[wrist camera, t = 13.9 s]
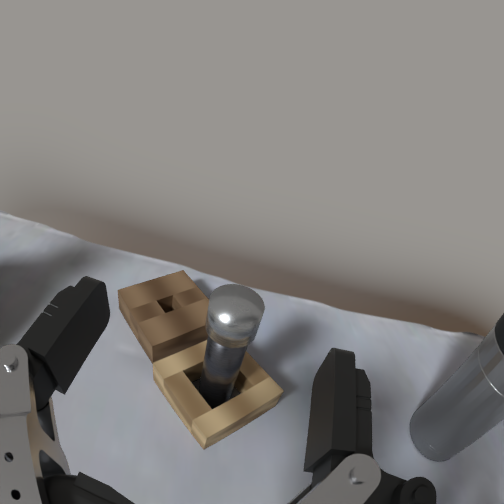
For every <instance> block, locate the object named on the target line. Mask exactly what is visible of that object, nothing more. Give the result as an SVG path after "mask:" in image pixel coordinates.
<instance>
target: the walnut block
mask: <svg viewBox="0 0 504 504" xmlns="http://www.w3.org/2000/svg"><path fill="white" fill-rule="evenodd" d="M118 299H119V309H120V311H121V313H122V314H123V316H124V318H125V320H126V321H127V323H128V325H129V326H130V328H131V330H132V331H133V333H134V335H135V336H136V338H137V340H138V341H139V343H140V345H141V346H142V348H143V349H144V351H145V353H146V354H147V356H148V357H149V359H150V360H151V362H152V364H153V363H154V362H156V361H159V360H161V359H163V358H166V357H168V356H171V355H173V354H175V353H178V352H180V351H182V350H185V349H187V348H189V347H192V346H194V345H196V344H199V343H201V342H203V341H206V340H207V339H208V334H207V332H206V328H205V323H206V317H207V311H208V305H209V299H208V298H207V297H206V296H205V295H204V293H203V292H202V291H201V290H200V289H199V288H198V287H197V285H196V284H195V283H194V282H193V281H192V280H191V279H190V277H189V276H188V275H187V274H186V273H185V272H184V270H182V271H179V272H176V273H172V274H169V275H166V276H162V277H159V278H156V279H153V280H149V281H146V282H143V283H139V284H136V285H133V286H130V287H126V288H123V289H120V290H118Z"/></svg>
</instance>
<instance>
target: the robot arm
mask: <svg viewBox="0 0 504 504" xmlns="http://www.w3.org/2000/svg"><path fill="white" fill-rule="evenodd" d="M109 318H110V309H109V303H108V297H107V290H106V285H105V283H104V282H102V281H99V280H96V279H93V278H90V277H88V276H85V277H83V278H82V279H81V280H80V281H79V282H78V283H77V285H76V286H75V287H73V286H69V287H67V288H65V289H64V290H62V291H60V292H59V293H58V294H57V295H56V296H55V297H54V299H53V300H52V301H51V302H50V305H48V306H47V307H46V308H45V309H44V312H43V313H41V314H40V316H39V317H38V318H37V319H36V321H35V322H34V323H33V325H32V326H31V327H30V328H29V330H28V331H27V332H26V334H25V335H24V336H23V337H22V339H21V340H20V341H19V342H18V343H17V344H16V345H15V344H9V345H6V346H3V347H2V348H0V504H134V503H133V502H131V501H130V500H128V499H127V498H126V497H124V496H123V495H121V494H120V493H118V492H117V491H116V490H114V489H113V488H112V487H110V486H109V485H106V484H104V483H102V482H100V481H98V480H95V479H93V478H91V477H89V476H87V475H85V474H83V473H81V472H79V473H78V476H76V475H71V473H70V469H69V466H68V462H67V459H66V456H65V454H64V452H63V450H62V448H61V445H60V442H59V437H58V432H57V426H56V421H55V415H54V408H53V401H52V397H51V396H52V394H53V392H54V391H55V390H57V391H59V392H61V393H63V394H64V395H65V393H66V391H67V390H68V388H69V386H70V385H71V383H72V381H73V380H74V378H75V376H76V375H77V373H78V371H79V370H80V368H81V366H82V365H83V363H84V361H85V360H86V358H87V357H88V355H89V353H90V352H91V350H92V349H93V347H94V345H95V344H96V342H97V341H98V339H99V337H100V336H101V334H102V333H103V331H104V330H105V328H106V326H107V324H108V322H109ZM370 398H371V388H370V382H369V380H368V377H367V375H366V373H365V371H364V370H361V369H356V368H355V354H354V352H351V351H346V350H341V349H337V348H331V350H330V351H329V353H328V355H327V356H326V358H325V360H324V361H323V363H322V365H321V366H320V368H319V369H318V371H317V373H316V375H315V378H314V382H313V387H312V398H311V408H310V419H309V429H308V438H307V447H306V455H305V463H304V471H305V472H312V473H313V477H312V482H311V483H310V484H309V485H308V486H307V487H305V488H304V489H303V490H302V491H301V492H300V493H299V494H298V495H297V496H295V497H294V498H293V499H292V500H291V501H290V502H289V503H287V504H436V490H435V487H434V485H433V484H432V483H431V482H430V481H429V480H428V479H426V478H423V477H415V478H412V479H410V480H408V481H406V480H404V479H401V478H398V477H396V476H393V475H391V474H388V473H386V472H384V471H383V470H381V469H380V467H379V465H378V464H377V462H376V461H375V460H374V458H373V454H372V412H371V400H370ZM503 419H504V314H503V315H502V316H501V318H500V319H499V320H498V322H497V323H496V324H495V326H494V327H493V328H492V330H491V331H490V332H489V333H488V335H487V336H486V337H485V338H484V340H483V341H482V342H481V343H480V345H479V346H478V347H477V348H476V349H475V351H474V352H473V353H472V354H471V355H470V356H469V358H468V359H467V360H466V361H465V362H464V363H463V364H462V365H461V367H460V368H459V369H458V370H457V371H456V372H455V373H454V374H453V375H452V376H451V377H450V378H449V379H448V380H447V381H446V383H445V384H444V385H443V386H442V387H441V388H440V389H439V390H438V391H437V392H436V393H435V394H433V395H432V396H431V397H430V398H429V399H428V400H427V401H426V402H425V403H424V404H423V405H422V406H421V407H420V408H419V409H418V410H417V411H416V412H415V413H414V414H413V416H412V419H411V423H410V433H411V437H412V440H413V442H414V445H415V446H416V448H417V449H418V450H419V451H420V453H421V454H422V455H424V456H425V457H427V458H429V459H431V460H434V461H445V460H448V459H450V458H451V457H453V456H454V455H456V454H457V453H459V452H460V451H462V450H463V449H465V448H466V447H468V446H469V445H471V444H472V443H473V442H475V441H476V440H477V439H479V438H480V437H481V436H483V435H484V434H485V433H487V432H488V431H489V430H491V429H492V428H493V427H494V426H496V425H497V424H498V423H499V422H500V421H502V420H503Z"/></svg>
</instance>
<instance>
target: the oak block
mask: <svg viewBox="0 0 504 504" xmlns="http://www.w3.org/2000/svg"><path fill="white" fill-rule="evenodd" d="M206 345H207V340H206V341H203V342H201V343H199V344H196V345H194V346H192V347H189V348H187V349H185V350H182V351H180V352H178V353H175V354H173V355H171V356H168V357H166V358H163V359H161V360H159V361H156V362H154V363H153V377H154V381H155V383H156V384H157V386H158V387H159V389H160V390H161V392H162V393H163V395H164V396H165V398H166V399H167V401H168V402H169V403H170V405H171V406H172V408H173V409H174V411H175V412H176V413H177V415H178V416H179V418H180V419H181V420H182V422H183V423H184V424H185V426H186V427H187V428H188V430H189V431H190V433H191V434H192V435H193V436H194V438H195V439H196V440H197V442H198V443H199V444H200V446H201V447H202V448H203V449H206V448H207V447H209V446H211V445H213V444H215V443H216V442H218V441H220V440H221V439H223V438H225V437H227V436H228V435H230V434H232V433H233V432H235V431H237V430H238V429H240V428H242V427H243V426H245V425H246V424H248V423H250V422H251V421H253V420H254V419H256V418H257V417H259V416H261V415H262V414H264V413H265V412H267V411H268V410H270V409H271V408H273V407H274V406H275V405H276V404H277V402H278V400H279V399H280V397H281V395H282V393H283V392H284V391H283V390H282V389H281V388H280V387H279V385H278V384H277V383H276V382H275V381H274V380H273V379H272V378H271V377H270V376H269V375H268V374H267V373H266V372H265V371H264V370H263V369H262V368H261V367H260V365H259V364H258V363H257V362H256V361H255V360H254V359H253V358H252V357H251V356H250V355H249V354H248V353H247V351H246V352H245V355H244V358H243V361H242V364H241V367H240V370H239V373H238V376H237V379H236V382H235V385H234V386H235V388H236V389H237V390H238V391H239V392H240V393H241V394H239V395H238V396H236V397H234V398H232V399H231V400H229V401H227V402H225V403H223V404H222V405H220V406H218V407H216V408H214V409H211V407H210V406H209V405H208V404H207V402H206V401H205V400H204V399H203V397H202V396H201V395H200V393H199V392H198V391H197V389H196V388H195V387H194V386H193V384H192V383H191V382H193V381H195V380H197V379H199V378H201V374H202V368H203V362H204V356H205V350H206Z"/></svg>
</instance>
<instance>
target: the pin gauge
mask: <svg viewBox="0 0 504 504" xmlns="http://www.w3.org/2000/svg"><path fill="white" fill-rule="evenodd" d="M264 309H265V306H264V302H263V300H262V298H261V297H260V296H259V295H258V294H257V293H256V292H255V291H253V290H252V289H250V288H248V287H245V286H242V285H236V284H228V285H223V286H220V287H218V288H216V289H215V290H214V291H213V292H212V293H211V295H210V299H209V305H208V311H207V317H206V323H205V328H206V332H207V334H208V339H207V345H206V350H205V356H204V362H203V368H202V374H201V380H200V386H199V393H200V395H201V396H202V397H203V399H204V400H205V401H206V402H207V404H208V405H209V406H210V407H211V409H214V408H216V407H218V406H220V405H222V404H223V403H225V402H227V401H229V400H230V397H231V394H232V391H233V388H234V385H235V382H236V379H237V376H238V373H239V370H240V367H241V364H242V361H243V358H244V355H245V352H246V349H247V346H248V344H250V343H251V342H252V341H253V340H254V339H255V336H256V334H257V331H258V328H259V325H260V322H261V319H262V316H263V313H264Z"/></svg>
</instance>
